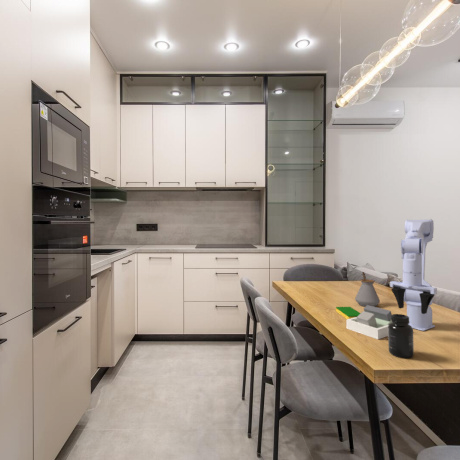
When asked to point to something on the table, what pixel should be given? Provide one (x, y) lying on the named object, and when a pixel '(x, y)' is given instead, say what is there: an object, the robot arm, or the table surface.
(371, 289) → the coffee pot
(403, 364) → the table surface
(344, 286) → the table surface
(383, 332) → the trapdoor frame
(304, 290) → the table surface
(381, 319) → the trapdoor
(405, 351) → the supplement bottle
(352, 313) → the dish sponge
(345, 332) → the table surface
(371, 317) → the grey block
